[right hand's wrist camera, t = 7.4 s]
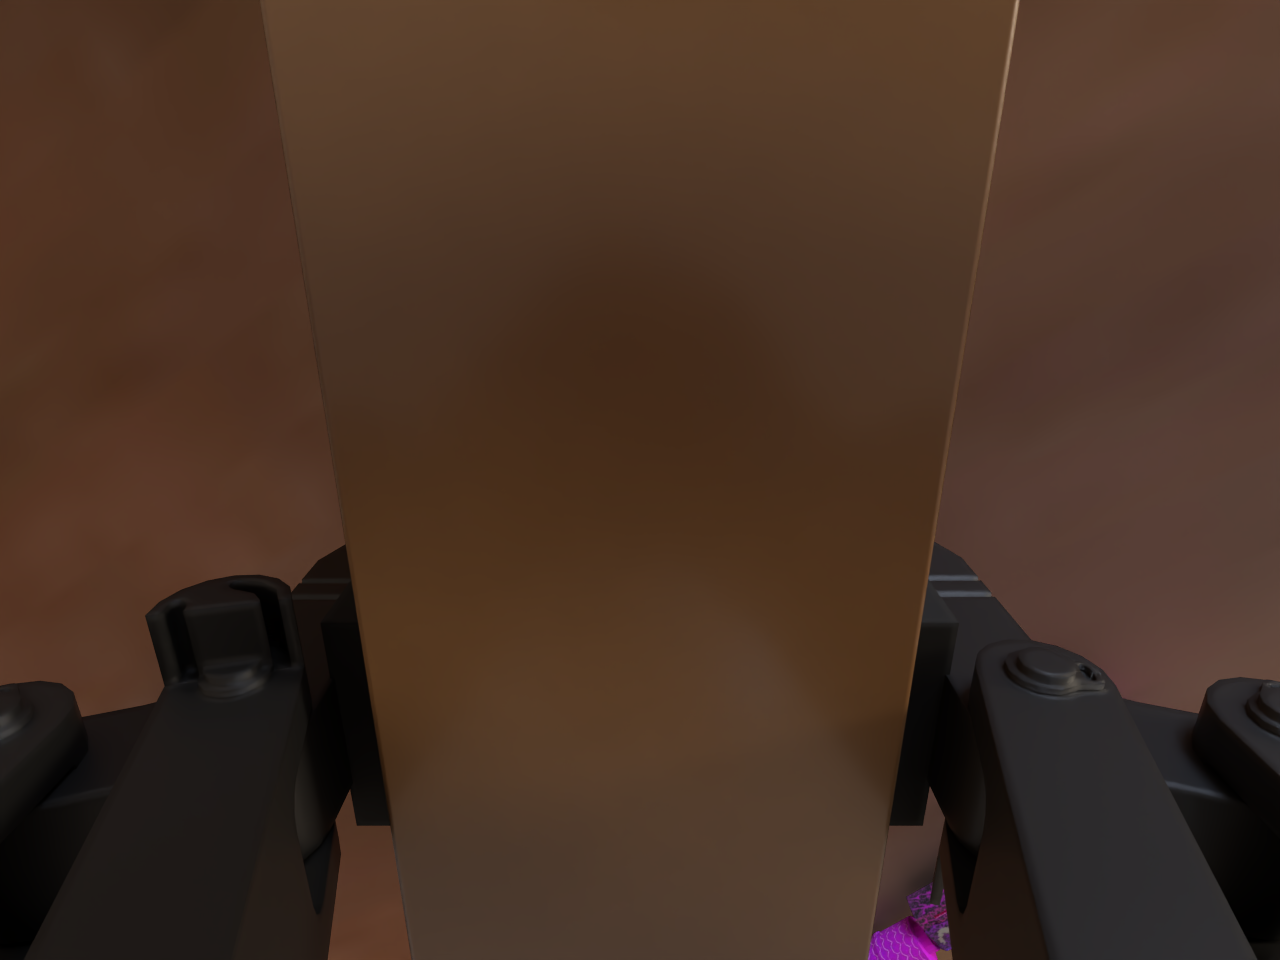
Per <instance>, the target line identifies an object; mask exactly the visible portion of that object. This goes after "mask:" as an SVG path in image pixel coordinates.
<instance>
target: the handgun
mask: <svg viewBox="0 0 1280 960" xmlns="http://www.w3.org/2000/svg"><path fill="white" fill-rule="evenodd" d="M932 884H933V882H932V883H930V884H928V885H927V886H925V887H923V888H921V889H919V890H918V891H916V892H914V893H912V894H911V895H909V896H907V897H906V898H907V901H908V903H909V906H910V909H911V911H912V914H913V917H912V916H908V917H906V918H905V919H903V920H901V921H899V922H897V923H896V924H894V925H892V926H890V927H888V928H886V929H885V930H883V931H881V932H880V931H877V932H876V933H874V934H873V935H872V937H871V944H870V950H869V956H868V960H938V959H937V956H936V953H935V952H937V951H939V950H940V948H941V949H943V950H946V951H948V950H951V942H950V934H949V926H948V918H947V910H946V903H945V895H944V890H943V893H942V898H941V903H940V906H938V905H933V904H929V903H930V896H931V889H932Z"/></svg>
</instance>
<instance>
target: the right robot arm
mask: <svg viewBox="0 0 1280 960" xmlns="http://www.w3.org/2000/svg"><path fill="white" fill-rule="evenodd" d="M145 617H146V620H147V624H148V628H149V631H150V635H151V638H152V642H153V646H154V649H155V653H156V656H157V660H158V663H159V667H160V671H161V674H162V678H163V681H164V685H165V687H164V689H163V691H162V693H161V694H160V696H159V698H158V700H157V702H155V703H151V704H147V705H143V706H138V707H133V708H127V709H122V710H117V711H112V712H107V713H101V714H96V715H91V716H86V717H81V714H80V711H79V708H78V705H77V702H76V699H75V696H74V693H73V692H72V691H71V690H70V689H68V688H67V687H65V686H64V685H63V684H60V683H53V682H45V681H35V682H26V683H17V684H15V683H13V684H7V685H2V686H0V960H327V959H328V952H329V944H330V936H331V928H332V920H333V912H334V904H335V897H336V889H337V881H338V873H339V865H340V857H341V851H340V844H339V837H338V832H337V827H336V822H335V819H336V817H337V815H338V813H339V811H340V809H341V807H342V805H343V803H344V800H345V798H346V796H347V794H348V792H349V790H351V796H352V801H353V807H354V812H355V818H356V823H357V826H390V820H389V814H388V807H387V801H386V795H385V789H384V782H383V776H382V770H381V763H380V757H379V751H378V745H377V738H376V732H375V726H374V719H373V713H372V707H371V700H370V694H369V688H368V682H367V675H366V669H365V663H364V656H363V650H362V644H361V637H360V631H359V625H358V619H357V612H356V606H355V600H354V593H353V587H352V581H351V574H350V568H349V562H348V556H347V549H346V544H345V545H344V546H342V547H340V548H339V549H337V550H335V551H333V552H332V553H330V554H328V555H327V556H325V557H323V558H322V559H320V560H318V561H317V563H316V564H315V565H314V566H313V567H312V568H311V570H310V571H309V572H308V573H307V574H306V576H305V577H304V578H303V579H302V583H299V584H298V585H297V586H296V588H295V589H294V590H293V591H292V592H291V590H290V586H288V585H287V584H285V583H284V582H283V581H281V580H280V579H278V578H273V577H268V576H263V575H235V576H229V577H224V578H219V579H214V580H208V581H205V582H202V583H199V584H197V585H194V586H191V587H188V588H185V589H182V590H180V591H178V592H176V593H175V594H173V595H171V596H169V597H167V598H166V599H164V600H162V601H160V602H159V603H158V604H157V605H156V606H155V607H154V608H153V609H152V610H151V611H150V612H149V613H147V614H146V615H145ZM929 787H931V789H932V791H933V793H934V795H935V798H936V800H937V802H938V804H939V806H940V808H941V810H942V812H943V814H944V816H945V822H944V827H943V832H942V837H941V842H940V848H939V853H938V858H937V863H936V868H935V873H934V879H933V884H932V889H931V896H930V903H929V904H933V905H938V906H940V903H941V898H942V893H943V890H944V895H945V903H946V910H947V918H948V926H949V934H950V942H951V950H952V957H953V960H1280V682H1277V681H1273V680H1261V679H1252V678H1243V677H1238V678H1231V679H1223V680H1218V681H1217V682H1216V683H1214V684H1213V685H1211V686H1210V687H1209V688H1207V691H1206V694H1205V697H1204V700H1203V703H1202V706H1201V709H1200V712H1199V714H1197V713H1192V712H1186V711H1181V710H1176V709H1171V708H1166V707H1160V706H1155V705H1150V704H1145V703H1139V702H1135V701H1131V700H1127V699H1123V698H1122V697H1121V695H1120V693H1119V691H1118V689H1117V687H1116V685H1115V684H1114V683H1113V682H1112V681H1111V679H1110V678H1109V677H1108V676H1107V675H1106V673H1105V672H1104V671H1103V670H1102V669H1100V668H1099V667H1097V666H1096V665H1094V664H1093V663H1091V662H1090V661H1088V660H1087V659H1085V658H1084V657H1082V656H1080V655H1078V654H1075V653H1073V652H1070V651H1068V650H1065V649H1063V648H1060V647H1058V646H1054V645H1050V644H1045V643H1041V642H1037V641H1032V640H1031V639H1030V638H1029V637H1028V636H1027V634H1026V633H1025V632H1024V631H1023V630H1022V628H1021V627H1020V626H1019V625H1018V624H1017V623H1016V621H1015V620H1014V619H1013V618H1012V617H1011V615H1010V614H1009V613H1008V612H1007V611H1006V610H1005V608H1004V607H1003V606H1002V605H1001V604H1000V602H999V601H998V600H997V599H996V598H995V597H991V592H990V591H989V590H988V588H987V587H986V586H985V585H984V584H983V582H982V581H978V577H977V575H976V574H975V573H974V572H973V571H972V569H971V568H970V567H969V566H968V565H967V564H966V562H965V561H964V560H963V559H962V558H961V557H959V556H958V555H956V554H954V553H953V552H951V551H949V550H947V549H946V548H944V547H942V546H941V545H939V544H937V543H935V542H934V546H933V552H932V558H931V565H930V571H929V577H928V584H927V590H926V596H925V603H924V609H923V615H922V621H921V628H920V634H919V640H918V647H917V653H916V659H915V666H914V672H913V678H912V685H911V691H910V697H909V704H908V710H907V716H906V723H905V729H904V735H903V742H902V748H901V754H900V761H899V767H898V773H897V779H896V786H895V792H894V798H893V805H892V811H891V817H890V824H889V826H923V821H924V815H925V810H926V804H927V798H928V793H929Z"/></svg>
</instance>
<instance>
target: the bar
mask: <svg viewBox="0 0 1280 960" xmlns="http://www.w3.org/2000/svg"><path fill="white" fill-rule="evenodd" d="M259 1H260V8H261V14H262V20H263V26H264V33H265V39H266V45H267V52H268V58H269V64H270V71H271V77H272V83H273V89H274V96H275V102H276V108H277V115H278V121H279V127H280V134H281V140H282V146H283V152H284V159H285V165H286V171H287V178H288V184H289V190H290V196H291V203H292V209H293V215H294V222H295V228H296V234H297V241H298V247H299V253H300V259H301V266H302V272H303V278H304V285H305V291H306V297H307V304H308V310H309V316H310V322H311V329H312V335H313V341H314V348H315V354H316V360H317V367H318V373H319V379H320V385H321V392H322V398H323V404H324V411H325V417H326V423H327V430H328V436H329V442H330V448H331V455H332V461H333V467H334V474H335V480H336V486H337V493H338V499H339V505H340V511H341V518H342V524H343V530H344V537H345V543H346V549H347V556H348V562H349V568H350V574H351V581H352V587H353V593H354V600H355V606H356V612H357V619H358V625H359V631H360V637H361V644H362V650H363V656H364V663H365V669H366V675H367V682H368V688H369V694H370V700H371V707H372V713H373V719H374V726H375V732H376V738H377V745H378V751H379V757H380V763H381V770H382V776H383V782H384V789H385V795H386V801H387V807H388V814H389V820H390V826H391V833H392V839H393V845H394V852H395V858H396V864H397V870H398V877H399V883H400V889H401V896H402V902H403V908H404V915H405V921H406V927H407V933H408V940H409V946H410V952H411V959H412V960H868V956H869V950H870V944H871V937H872V931H873V925H874V918H875V912H876V906H877V900H878V893H879V887H880V881H881V874H882V868H883V862H884V855H885V849H886V843H887V836H888V830H889V824H890V817H891V811H892V805H893V798H894V792H895V786H896V779H897V773H898V767H899V761H900V754H901V748H902V742H903V735H904V729H905V723H906V716H907V710H908V704H909V697H910V691H911V685H912V678H913V672H914V666H915V659H916V653H917V647H918V640H919V634H920V628H921V621H922V615H923V609H924V603H925V596H926V590H927V584H928V577H929V571H930V565H931V558H932V552H933V546H934V539H935V533H936V527H937V520H938V514H939V508H940V501H941V495H942V489H943V482H944V476H945V470H946V463H947V457H948V451H949V445H950V438H951V432H952V426H953V419H954V413H955V407H956V400H957V394H958V388H959V381H960V375H961V369H962V362H963V356H964V350H965V343H966V337H967V331H968V324H969V318H970V312H971V306H972V299H973V293H974V287H975V280H976V274H977V268H978V261H979V255H980V249H981V242H982V236H983V230H984V223H985V217H986V211H987V204H988V198H989V192H990V185H991V179H992V173H993V166H994V160H995V154H996V148H997V141H998V135H999V129H1000V122H1001V116H1002V110H1003V103H1004V97H1005V91H1006V84H1007V78H1008V72H1009V65H1010V59H1011V53H1012V46H1013V40H1014V34H1015V27H1016V21H1017V15H1018V9H1019V2H1020V0H259Z"/></svg>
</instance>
